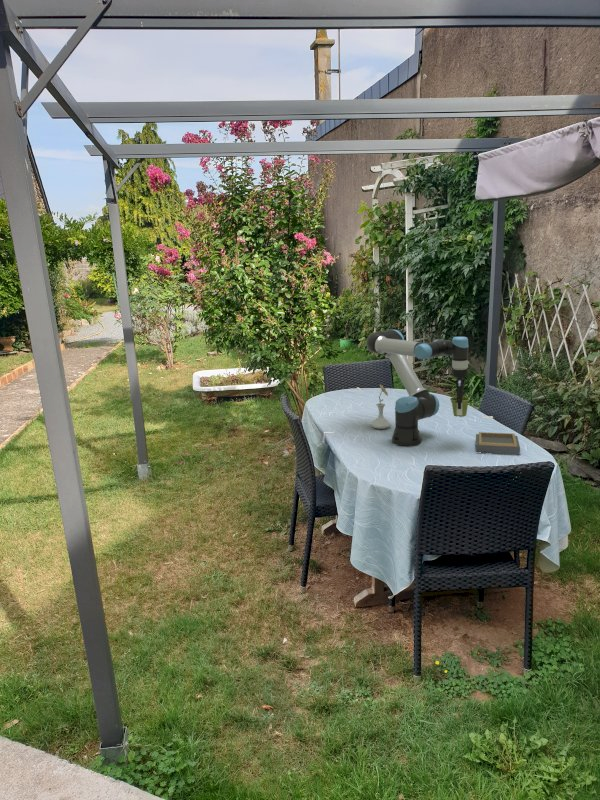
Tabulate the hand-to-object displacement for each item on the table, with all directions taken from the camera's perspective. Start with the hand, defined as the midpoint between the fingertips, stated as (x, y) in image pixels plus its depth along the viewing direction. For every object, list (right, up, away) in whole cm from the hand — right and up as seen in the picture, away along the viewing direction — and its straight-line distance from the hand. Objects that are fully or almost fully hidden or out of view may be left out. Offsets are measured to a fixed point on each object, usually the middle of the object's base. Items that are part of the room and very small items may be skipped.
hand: (459, 412), depth 285 cm
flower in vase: (-33, -10, +42) cm, 55 cm away
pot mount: (+18, -18, 0) cm, 26 cm away
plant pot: (0, -2, 0) cm, 2 cm away
